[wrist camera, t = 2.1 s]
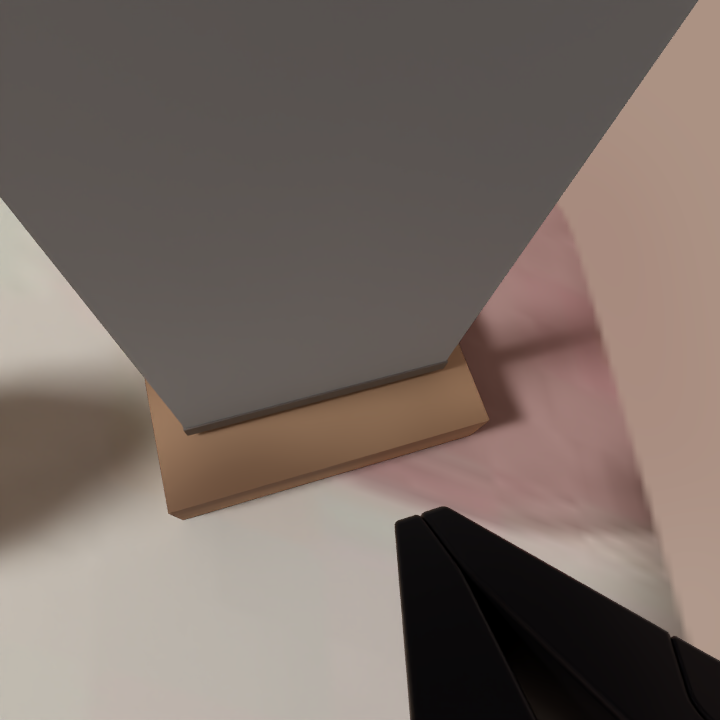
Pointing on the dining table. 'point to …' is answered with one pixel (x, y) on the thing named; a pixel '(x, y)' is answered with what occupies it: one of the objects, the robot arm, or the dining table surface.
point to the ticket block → (312, 439)
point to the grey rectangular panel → (301, 173)
